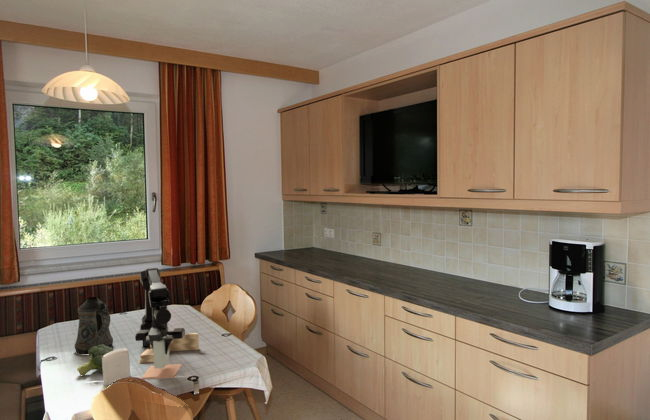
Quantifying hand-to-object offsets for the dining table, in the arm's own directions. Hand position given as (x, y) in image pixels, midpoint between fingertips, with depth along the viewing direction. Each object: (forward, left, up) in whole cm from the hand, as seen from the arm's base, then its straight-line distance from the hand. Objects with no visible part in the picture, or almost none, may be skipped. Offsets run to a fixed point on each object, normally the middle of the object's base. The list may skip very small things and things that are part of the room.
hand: (161, 354), depth 182 cm
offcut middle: (-9, +14, -7) cm, 18 cm away
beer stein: (-40, +32, -8) cm, 52 cm away
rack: (-1, +16, -7) cm, 18 cm away
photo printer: (-16, -6, -8) cm, 19 cm away
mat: (0, 0, -7) cm, 7 cm away
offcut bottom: (-9, +14, -8) cm, 19 cm away
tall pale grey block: (0, 0, -4) cm, 4 cm away
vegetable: (-27, +3, -8) cm, 29 cm away
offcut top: (-9, +14, -5) cm, 17 cm away
